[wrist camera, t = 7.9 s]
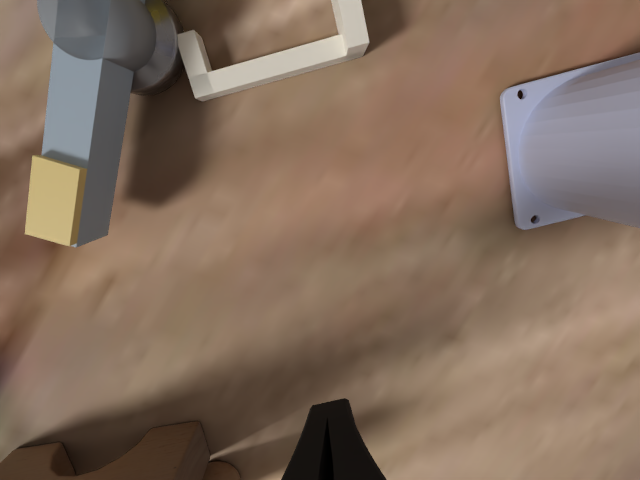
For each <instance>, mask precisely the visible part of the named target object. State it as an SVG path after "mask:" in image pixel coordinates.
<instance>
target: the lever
mask: <svg viewBox="0 0 640 480" xmlns="http://www.w3.org/2000/svg"><path fill="white" fill-rule="evenodd" d="M37 5H38V12H39V17H40V20H41V23H42V25H43V27H44V29H45V31H46V33H47V34H48V36H49V37H50V39H51V40H52V41H53V42H54V44H53V53H52V63H51V72H50V82H49V91H48V101H47V110H46V120H45V129H44V138H43V148H42V155H34V156H33V157H32V167H31V177H30V187H29V197H28V207H27V217H26V227H25V234H27V235H31V236H35V237H38V238H42V239H45V240H49V241H52V242H56V243H60V244H63V245H67V246H73V247H79V246H81V245H84V244H86V243H89V242H91V241H94V240H96V239H99V238H101V237H104V236H106V235H108V230H109V223H110V217H111V211H112V205H113V198H114V192H115V186H116V180H117V174H118V167H119V161H120V155H121V149H122V142H123V136H124V130H125V124H126V118H127V111H128V105H129V99H130V93H131V86H132V80H133V74H134V72H135V71H137V70H139V69H141V68H142V67H143V66H145V65H146V64H147V62H148V61H149V60H150V58H151V57H152V55H153V53H154V50H155V46H156V28H155V23H154V20H153V18H152V16H151V13H150V12H149V10H148V8H147V7H146V6H145V0H37Z"/></svg>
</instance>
